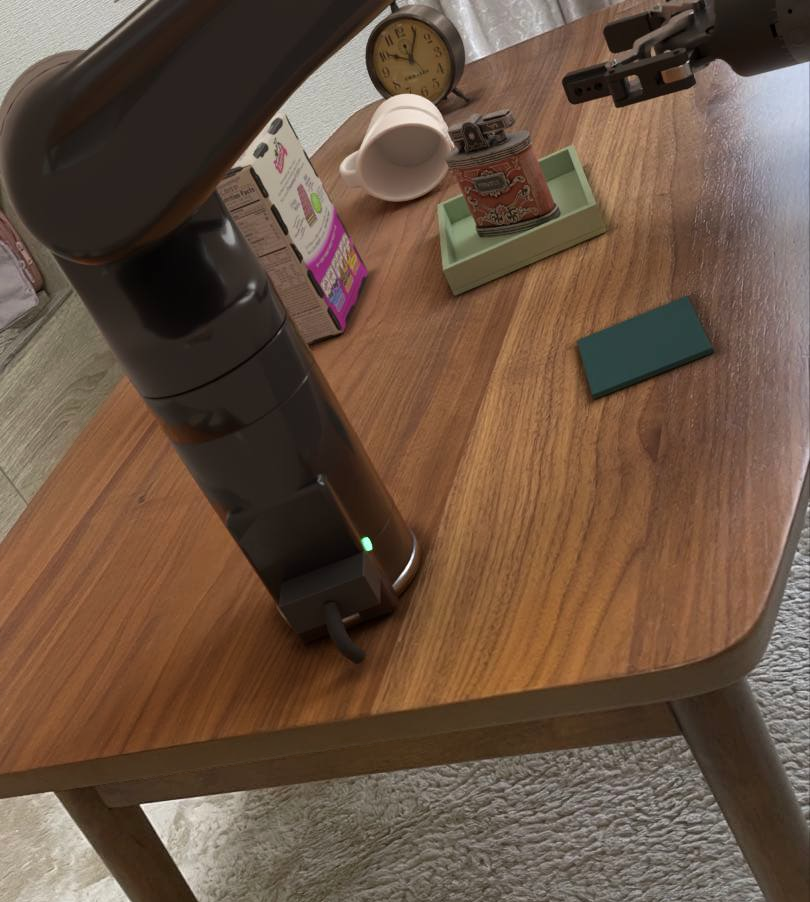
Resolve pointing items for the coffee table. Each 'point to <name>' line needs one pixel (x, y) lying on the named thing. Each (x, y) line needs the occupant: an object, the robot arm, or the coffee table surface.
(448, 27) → the alarm clock
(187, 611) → the coffee table surface
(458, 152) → the lighter
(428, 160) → the mug
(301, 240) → the candy bar box
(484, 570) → the coffee table surface
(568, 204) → the tray
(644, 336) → the mat
